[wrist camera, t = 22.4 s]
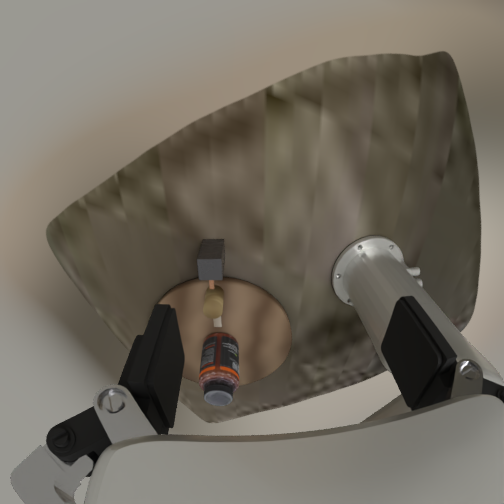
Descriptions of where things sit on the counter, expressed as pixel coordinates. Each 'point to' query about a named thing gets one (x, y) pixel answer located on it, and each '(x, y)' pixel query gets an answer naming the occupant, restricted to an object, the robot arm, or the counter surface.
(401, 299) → the robot arm
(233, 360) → the supplement bottle
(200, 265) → the small hammer
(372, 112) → the counter surface
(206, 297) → the turntable
